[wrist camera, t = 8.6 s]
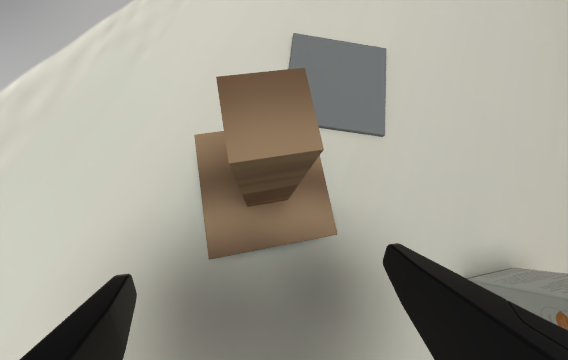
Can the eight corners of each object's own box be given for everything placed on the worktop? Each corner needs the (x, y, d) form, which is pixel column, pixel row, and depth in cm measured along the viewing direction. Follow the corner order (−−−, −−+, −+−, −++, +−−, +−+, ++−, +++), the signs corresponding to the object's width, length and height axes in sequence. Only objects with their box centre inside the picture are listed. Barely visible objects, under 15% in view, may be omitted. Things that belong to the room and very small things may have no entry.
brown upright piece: (332, 234, 19) (441, 228, 8) (212, 258, 18) (125, 293, 7) (308, 125, 21) (366, -10, 10) (198, 141, 20) (111, 6, 8)
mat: (382, 136, 26) (384, 135, 25) (282, 122, 25) (282, 120, 25) (384, 51, 28) (386, 48, 28) (293, 36, 27) (293, 33, 27)
